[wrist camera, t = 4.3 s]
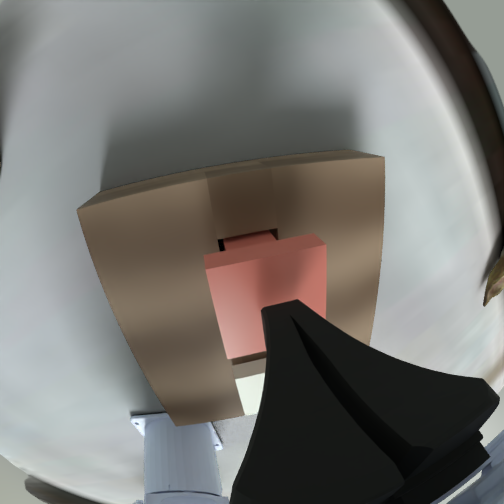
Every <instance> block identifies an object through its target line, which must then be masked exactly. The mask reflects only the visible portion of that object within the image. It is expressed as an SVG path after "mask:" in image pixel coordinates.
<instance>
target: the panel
mask: <svg viewBox="0 0 504 504" xmlns="http://www.w3.org/2000/svg"><path fill="white" fill-rule="evenodd" d="M384 207H385V157H382V156H378V155H373V154H368V153H363V152H359V151H353V150H336V151H324V152H313V153H303V154H293V155H285V156H276V157H269V158H261V159H254V160H247V161H241V162H234V163H228V164H222V165H217V166H211V167H205V168H200V169H195V170H190V171H185V172H180V173H175V174H170V175H166V176H161V177H157V178H152V179H148V180H144V181H140V182H136V183H132V184H128V185H124V186H120V187H116V188H113V189H109V190H105V191H102V192H99V193H98V194H96V195H95V196H94V197H92V198H91V199H90V200H88V201H87V202H86V203H85V204H83V205H82V206H81V207H79V208H78V209H77V214H78V217H79V221H80V224H81V227H82V231H83V234H84V237H85V240H86V243H87V246H88V249H89V252H90V255H91V258H92V260H93V263H94V266H95V269H96V271H97V274H98V277H99V279H100V282H101V284H102V287H103V289H104V292H105V294H106V297H107V299H108V301H109V304H110V306H111V308H112V311H113V313H114V315H115V317H116V320H117V322H118V324H119V326H120V328H121V330H122V332H123V335H124V337H125V339H126V341H127V343H128V345H129V347H130V349H131V351H132V353H133V355H134V357H135V358H136V360H137V362H138V364H139V366H140V368H141V370H142V371H143V373H144V375H145V377H146V379H147V380H148V382H149V384H150V386H151V387H152V389H153V391H154V392H155V394H156V396H157V397H158V399H159V401H160V402H161V404H162V406H163V407H164V409H165V410H166V412H167V414H168V415H169V417H170V418H171V420H172V421H173V423H174V424H175V426H176V427H178V426H186V425H193V424H200V423H207V422H213V421H219V420H224V419H229V418H235V417H239V416H244V415H245V413H244V410H243V406H242V403H241V399H240V396H239V392H238V388H237V385H236V381H235V377H234V373H233V368H232V366H233V365H238V364H242V363H247V362H251V361H255V360H260V359H264V358H266V354H267V351H263V352H259V353H254V354H250V355H246V356H241V357H237V358H232V359H227V355H226V352H225V348H224V344H223V340H222V336H221V332H220V328H219V325H218V321H217V317H216V312H215V308H214V304H213V300H212V296H211V292H210V287H209V283H208V279H207V274H206V270H205V263H204V255H207V254H211V253H216V252H220V251H219V245H218V239H223V238H228V237H233V236H238V235H243V234H248V233H253V232H259V231H264V230H269V231H270V232H271V234H272V235H273V236H274V238H275V239H276V240H281V239H287V238H292V237H297V236H302V235H307V234H312V233H314V234H315V235H316V236H317V237H319V238H320V239H321V240H322V241H323V242H324V243H325V244H326V248H327V287H326V320H327V321H329V322H330V323H332V324H333V325H335V326H336V327H338V328H339V329H341V330H342V331H344V332H345V333H347V334H348V335H350V336H352V337H353V338H355V339H357V340H359V341H360V342H362V343H364V344H366V345H368V346H369V344H370V339H371V333H372V327H373V321H374V315H375V308H376V301H377V294H378V286H379V277H380V268H381V257H382V245H383V230H384Z"/></svg>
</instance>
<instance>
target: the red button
mask: <svg viewBox="0 0 504 504" xmlns="http://www.w3.org/2000/svg"><path fill="white" fill-rule="evenodd" d="M223 244H224V249H225V251H221V252H216V253H211V254H207V255H204V263H205V270H206V274H207V279H208V283H209V287H210V292H211V296H212V300H213V304H214V308H215V312H216V317H217V321H218V325H219V328H220V332H221V336H222V340H223V344H224V348H225V352H226V355H227V359H232V358H237V357H241V356H246V355H250V354H254V353H259V352H263V351H266V346H265V339H264V332H263V324H262V317H261V310H262V308H263V307H266V306H271V305H275V304H279V303H283V302H287V301H291V300H295V299H298V300H300V301H301V302H303V303H304V304H305V305H307V306H308V307H309V308H311V309H312V310H313V311H315V312H316V313H317V314H319V315H320V316H322V317H323V318H324V319H326V287H327V248H326V244H325V243H324V242H323V241H322V240H321V239H320V238H319V237H317V236H316V235H315V234H314V233H312V234H307V235H302V236H297V237H292V238H287V239H281V240H276V239H275V238H274V236H273V235H272V234H271V232H270V231H269V230H264V231H259V232H253V233H248V234H243V235H238V236H233V237H228V238H223Z"/></svg>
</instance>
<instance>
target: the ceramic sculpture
mask: <svg viewBox="0 0 504 504" xmlns="http://www.w3.org/2000/svg"><path fill="white" fill-rule="evenodd" d="M503 288H504V248H503V250H502V252H501V255H500V258H499V261H498V262H497V264H496V265H495V266H494V268H493V269H492V271H491V273H490V275H489V277H488V282H487V285H486V290H485V296H484V302H483V306H484V307H485V306H486V305H487V303H488V302H489V301H490V299H491V298H492V297H495V296H496V295H498V294H499V293H500V292H501V291H502V289H503Z"/></svg>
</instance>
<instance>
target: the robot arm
mask: <svg viewBox="0 0 504 504" xmlns="http://www.w3.org/2000/svg"><path fill="white" fill-rule="evenodd" d="M261 317H262V324H263V332H264V339H265V346H266V351H267V354H266V368H265V378H264V385H263V391H262V397H261V402H260V406H259V411H258V415H257V419H256V423H255V426H254V430H253V433H252V436H251V439H250V442H249V445H248V448H247V451H246V454H245V457H244V459H243V462H242V464H241V467H240V469H239V471H238V474H237V476H236V478H235V481H234V483H233V486H232V493H231V497H230V502H229V499H228V497H222V485H221V480H220V474H219V469H218V463H217V457H216V452H215V450H221V449H223V445H222V443H221V441H220V439H219V437H218V435H217V433H216V431H215V429H214V427H213V425H212V423H211V422H207V423H200V424H193V425H186V426H178V427H176V426H175V424H174V423H173V421H172V420H171V418H170V417H169V415H168V414H167V413H160V414H150V415H138V416H131V418H130V421H131V422H132V423H133V425H134V426H135V427H136V428H137V429H138V431H139V432H140V433H141V434H142V435H143V436H144V485H145V496H144V504H438V503H439V502H441V501H442V500H444V499H445V498H447V497H448V496H449V495H451V494H452V493H454V492H455V491H456V490H458V489H459V488H460V487H461V486H463V485H464V484H465V483H467V482H468V481H469V480H470V479H471V478H473V477H474V476H475V475H476V474H477V473H479V472H480V471H481V470H482V475H481V477H480V478H479V479H478V480H476V481H475V482H474V483H472V484H471V485H470V486H468V487H467V488H466V489H464V490H463V491H462V492H460V493H459V494H458V495H456V496H455V497H454V498H453V499H451V500H450V501H449V502H448V503H447V504H504V430H503V431H502V432H501V433H500V434H499V435H498V436H496V437H495V438H494V439H493V440H492V441H491V442H490V443H489V444H488V445H487V446H486V447H483V445H482V444H481V443H480V441H481V440H482V439H483V435H482V434H481V433H480V431H479V429H480V428H481V427H482V425H483V424H484V423H485V422H486V421H487V419H488V418H489V417H490V416H491V415H492V413H493V412H494V411H495V409H496V408H497V406H498V405H499V401H500V397H499V396H498V395H497V394H496V393H495V391H494V390H493V389H492V388H491V387H490V386H489V385H488V384H487V383H486V381H485V380H484V379H482V378H473V377H465V376H458V375H452V374H447V373H442V372H438V371H434V370H430V369H426V368H423V367H419V366H416V365H413V364H410V363H407V362H404V361H402V360H399V359H396V358H394V357H391V356H389V355H387V354H385V353H383V352H380V351H378V350H376V349H374V348H372V347H370V346H368V345H366V344H364V343H362V342H360V341H359V340H357V339H355V338H353V337H352V336H350V335H348V334H347V333H345V332H344V331H342V330H341V329H339V328H338V327H336V326H335V325H333V324H332V323H330V322H329V321H327V320H326V319H324V318H323V317H322V316H320V315H319V314H317V313H316V312H315V311H313V310H312V309H311V308H309V307H308V306H307V305H305V304H304V303H303V302H301V301H300V300H298V299H295V300H291V301H287V302H283V303H279V304H275V305H271V306H266V307H263V308H262V310H261ZM133 504H143V501H142V500H136V502H135V503H133Z"/></svg>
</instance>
